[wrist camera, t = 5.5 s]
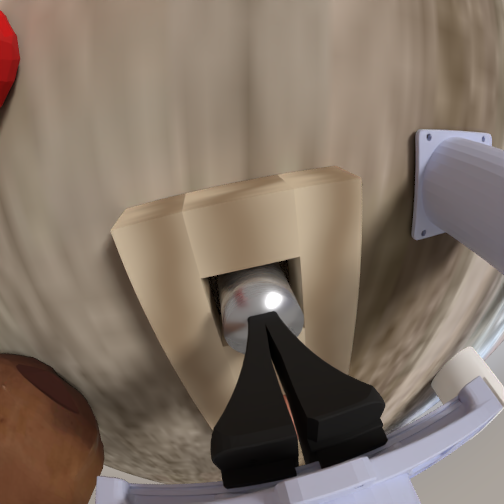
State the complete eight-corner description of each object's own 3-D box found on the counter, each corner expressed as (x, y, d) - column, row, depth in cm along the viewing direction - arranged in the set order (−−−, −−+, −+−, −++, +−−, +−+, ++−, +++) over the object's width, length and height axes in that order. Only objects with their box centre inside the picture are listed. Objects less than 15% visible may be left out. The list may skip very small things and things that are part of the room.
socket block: (335, 165, 15) (361, 178, 13) (330, 397, 27) (339, 419, 24) (125, 208, 14) (110, 230, 12) (221, 424, 26) (224, 447, 23)
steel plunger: (278, 243, 17) (302, 287, 13) (284, 296, 18) (305, 345, 15) (210, 258, 16) (214, 306, 12) (224, 310, 18) (232, 362, 14)
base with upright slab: (452, 381, 35) (484, 429, 25) (421, 392, 33) (455, 449, 23) (481, 343, 31) (520, 391, 21) (453, 350, 29) (498, 410, 19)
